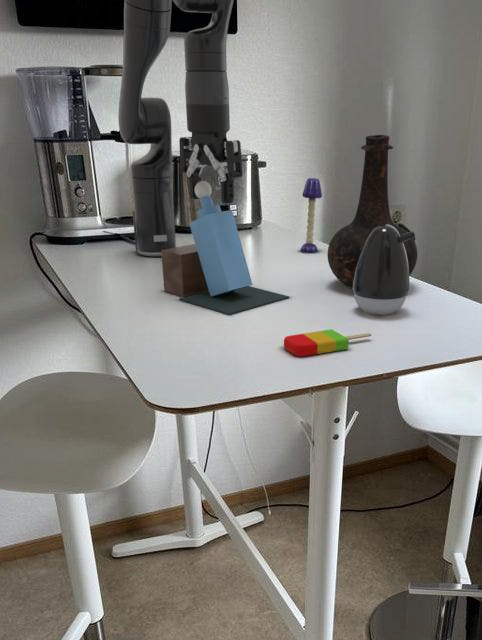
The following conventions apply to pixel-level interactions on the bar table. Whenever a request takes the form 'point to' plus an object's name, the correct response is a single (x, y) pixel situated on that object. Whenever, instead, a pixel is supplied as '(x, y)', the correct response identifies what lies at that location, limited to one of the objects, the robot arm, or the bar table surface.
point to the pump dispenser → (382, 271)
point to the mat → (235, 300)
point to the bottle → (218, 245)
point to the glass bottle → (367, 214)
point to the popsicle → (318, 342)
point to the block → (183, 271)
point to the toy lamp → (311, 212)
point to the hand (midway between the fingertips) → (211, 200)
